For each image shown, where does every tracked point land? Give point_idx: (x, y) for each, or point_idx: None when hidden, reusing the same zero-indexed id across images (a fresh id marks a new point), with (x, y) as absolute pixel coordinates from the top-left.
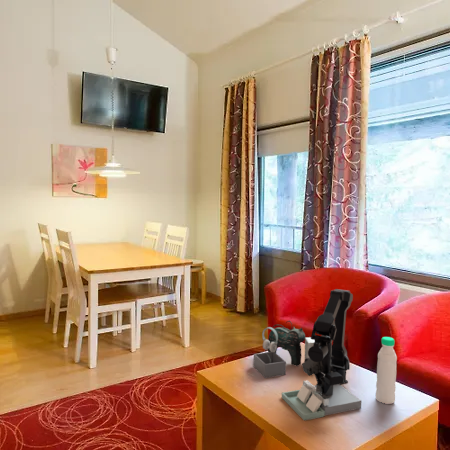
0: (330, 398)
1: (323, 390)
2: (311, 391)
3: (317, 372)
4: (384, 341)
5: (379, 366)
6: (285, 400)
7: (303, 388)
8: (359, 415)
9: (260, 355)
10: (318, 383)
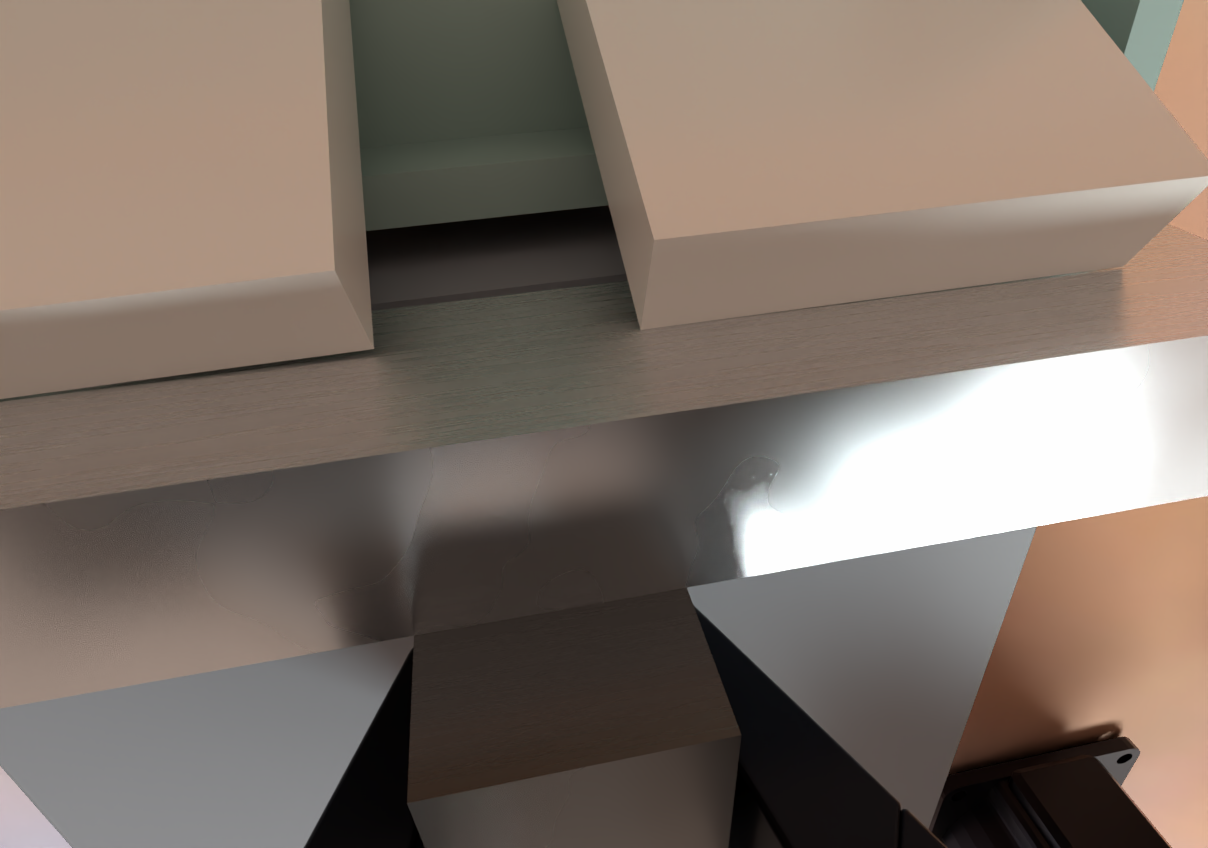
0: (356, 676)
1: (381, 742)
2: (645, 330)
3: None
4: None
5: None
6: None
7: (1009, 119)
8: (21, 832)
9: None
10: (751, 788)
